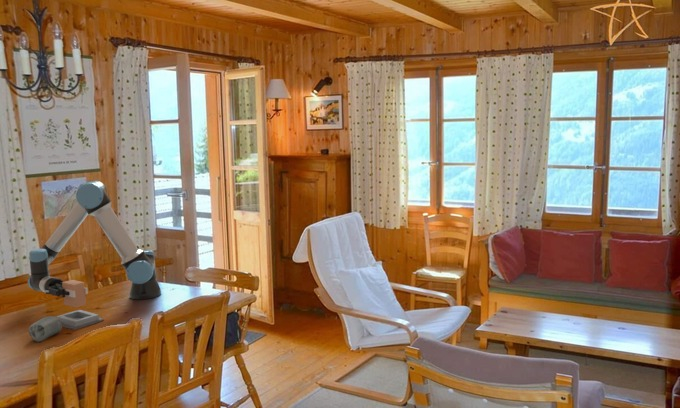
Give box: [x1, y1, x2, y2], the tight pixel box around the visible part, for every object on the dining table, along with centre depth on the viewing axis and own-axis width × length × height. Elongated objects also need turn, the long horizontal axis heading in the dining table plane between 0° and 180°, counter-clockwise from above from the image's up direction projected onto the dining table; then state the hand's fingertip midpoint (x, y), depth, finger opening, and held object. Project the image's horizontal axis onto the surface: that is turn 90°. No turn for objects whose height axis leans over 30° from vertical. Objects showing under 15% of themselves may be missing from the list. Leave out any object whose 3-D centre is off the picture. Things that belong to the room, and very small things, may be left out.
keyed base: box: [55, 309, 104, 331], centre depth 260 cm, size 14×17×3 cm
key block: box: [62, 279, 87, 308], centre depth 259 cm, size 5×9×10 cm, turn 55°
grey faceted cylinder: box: [28, 315, 63, 343], centre depth 241 cm, size 14×10×10 cm
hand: (80, 292), depth 255 cm, fingers closed on key block, 5 cm apart
